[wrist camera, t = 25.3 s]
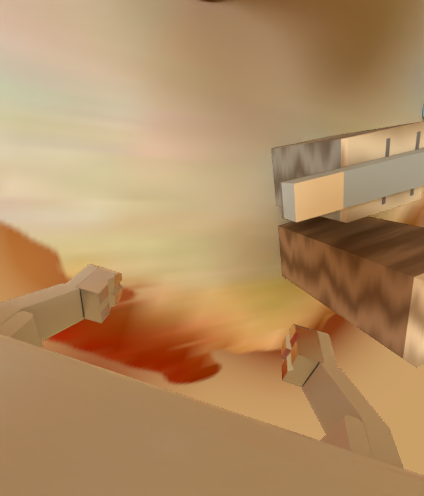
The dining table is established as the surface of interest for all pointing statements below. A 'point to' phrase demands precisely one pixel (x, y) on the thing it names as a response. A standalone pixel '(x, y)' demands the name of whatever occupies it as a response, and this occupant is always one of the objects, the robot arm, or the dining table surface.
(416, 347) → the tall stand
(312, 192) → the sanding stick
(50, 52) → the dining table surface
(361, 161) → the grey marbled block
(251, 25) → the dining table surface
